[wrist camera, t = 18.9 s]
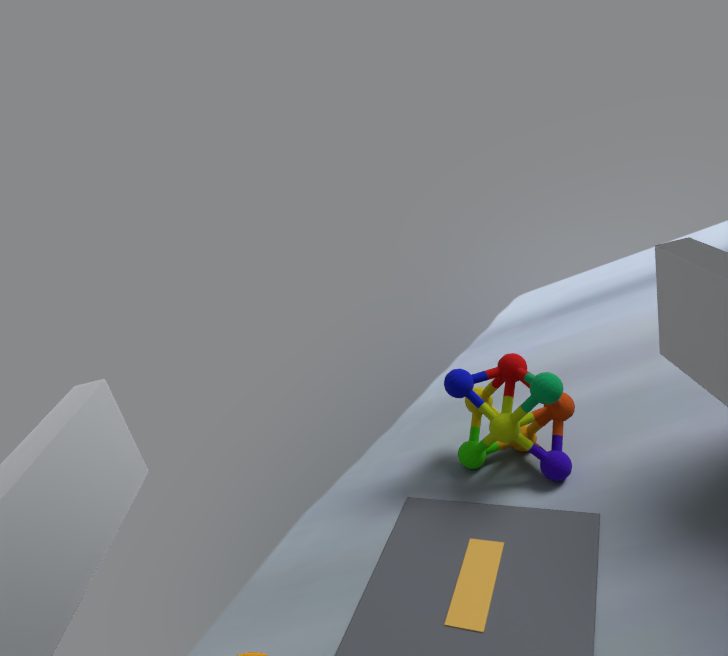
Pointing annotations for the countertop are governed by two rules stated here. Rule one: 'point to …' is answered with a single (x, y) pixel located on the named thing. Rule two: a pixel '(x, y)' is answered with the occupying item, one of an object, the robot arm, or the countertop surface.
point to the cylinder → (252, 654)
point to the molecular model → (513, 414)
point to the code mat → (480, 584)
